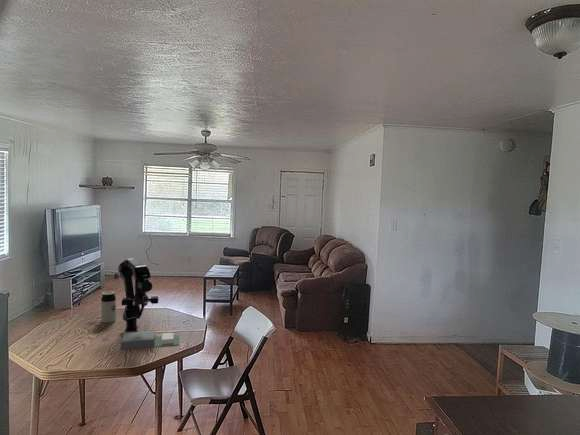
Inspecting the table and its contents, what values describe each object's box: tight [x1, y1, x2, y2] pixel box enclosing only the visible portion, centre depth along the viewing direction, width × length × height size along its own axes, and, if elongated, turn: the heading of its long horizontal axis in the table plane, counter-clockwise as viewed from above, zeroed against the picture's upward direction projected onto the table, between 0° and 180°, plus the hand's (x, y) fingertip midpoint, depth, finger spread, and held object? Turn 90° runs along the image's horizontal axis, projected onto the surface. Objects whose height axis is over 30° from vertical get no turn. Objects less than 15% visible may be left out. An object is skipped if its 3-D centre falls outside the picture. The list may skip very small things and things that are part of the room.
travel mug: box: [100, 290, 117, 324], centre depth 235 cm, size 8×8×18 cm
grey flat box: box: [120, 330, 156, 351], centre depth 201 cm, size 13×16×4 cm
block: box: [161, 332, 175, 344], centre depth 206 cm, size 9×6×2 cm, turn 17°
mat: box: [154, 334, 180, 348], centre depth 206 cm, size 14×12×1 cm
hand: (140, 315), depth 210 cm, fingers closed
